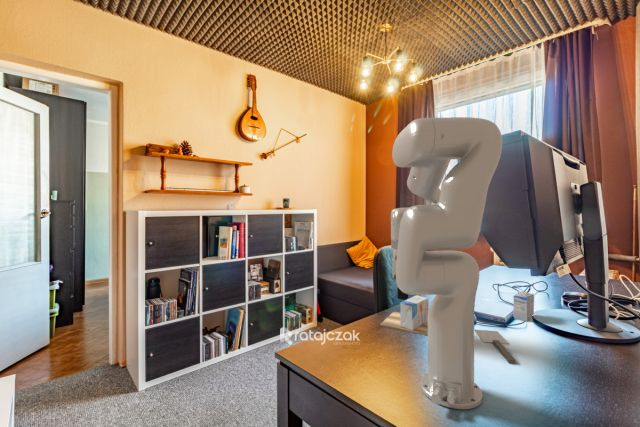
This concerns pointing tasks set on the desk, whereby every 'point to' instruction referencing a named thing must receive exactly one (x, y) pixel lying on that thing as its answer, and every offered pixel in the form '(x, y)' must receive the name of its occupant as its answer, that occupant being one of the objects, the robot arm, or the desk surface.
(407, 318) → the ink box
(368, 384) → the desk surface
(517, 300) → the medicine box
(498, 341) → the steel turner
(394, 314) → the cork mat
